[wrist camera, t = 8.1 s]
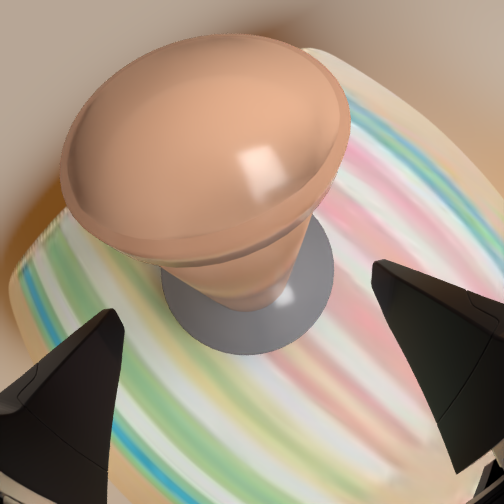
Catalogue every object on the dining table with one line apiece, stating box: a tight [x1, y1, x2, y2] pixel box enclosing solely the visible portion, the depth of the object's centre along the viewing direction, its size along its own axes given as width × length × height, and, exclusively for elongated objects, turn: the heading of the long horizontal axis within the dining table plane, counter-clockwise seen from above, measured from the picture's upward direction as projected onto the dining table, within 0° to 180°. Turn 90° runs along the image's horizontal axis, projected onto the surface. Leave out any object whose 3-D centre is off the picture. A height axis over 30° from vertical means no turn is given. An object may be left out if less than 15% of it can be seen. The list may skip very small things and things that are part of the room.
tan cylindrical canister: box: [60, 34, 351, 312], centre depth 11 cm, size 6×6×13 cm
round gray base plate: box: [161, 214, 334, 355], centre depth 18 cm, size 11×11×2 cm
